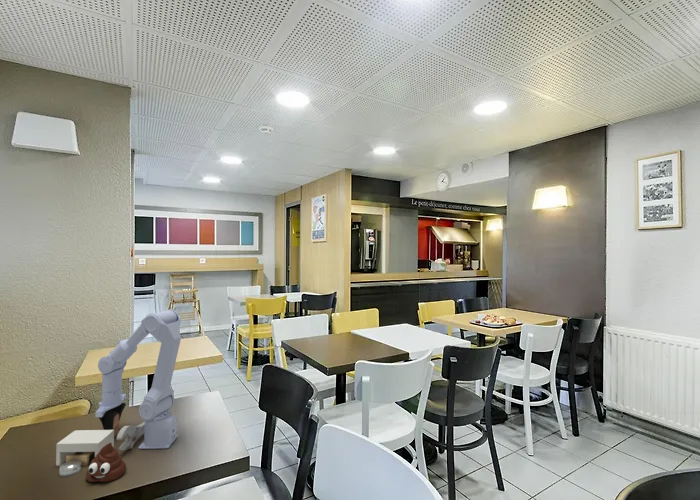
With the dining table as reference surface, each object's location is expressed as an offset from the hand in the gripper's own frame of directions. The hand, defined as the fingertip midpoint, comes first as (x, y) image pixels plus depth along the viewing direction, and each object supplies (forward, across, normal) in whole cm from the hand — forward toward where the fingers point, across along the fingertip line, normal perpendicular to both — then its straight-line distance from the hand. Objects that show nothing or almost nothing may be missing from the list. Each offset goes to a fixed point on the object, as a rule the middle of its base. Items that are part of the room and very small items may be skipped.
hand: (111, 428), depth 125 cm
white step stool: (+2, +13, 0) cm, 13 cm away
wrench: (+3, -1, +11) cm, 12 cm away
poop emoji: (+3, +22, +11) cm, 25 cm away
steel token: (+2, +20, 0) cm, 20 cm away
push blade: (+2, +8, 0) cm, 8 cm away
